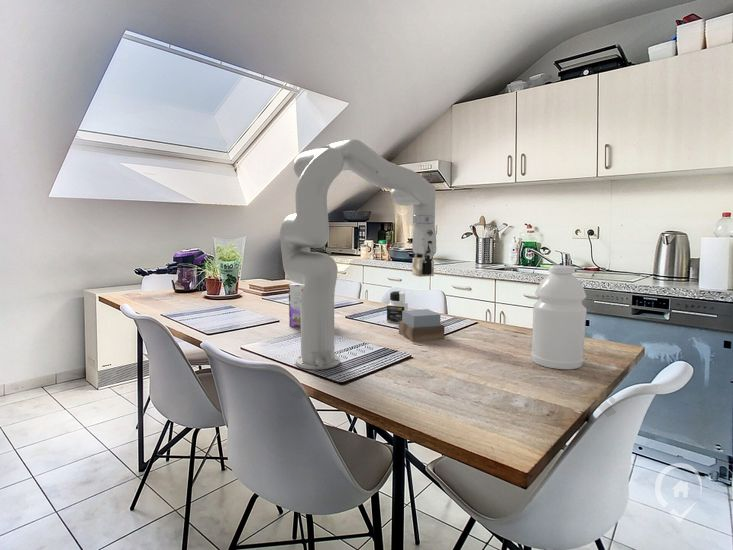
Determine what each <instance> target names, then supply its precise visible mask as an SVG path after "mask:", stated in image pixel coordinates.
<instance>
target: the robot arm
mask: <svg viewBox="0 0 733 550" xmlns="http://www.w3.org/2000/svg"><path fill="white" fill-rule="evenodd" d="M293 171H294V174H295V175H296V177H297V178H298V181H297V185H296V187H295V194H294V195H295V197H294V198H295V200H294V201H295V213H293V214H289V215H288V216H286V217H285V218H284V220H283V221H282V223H281V226H280V230H279V241H280V249H281V250H280V251H281V258H282V259H281V260H282V265H283V266H282V268H283V271H284V273H285V276H286V277H287V278H288V279H289V281H291V282H292V283H299V284H304V289H303V292H302V295H301V301H300V314H301V327H300V355H299V356H297V357H296V359H295V365H296V366H298V368H301V369H306V370H311V371H312V370H315V371H317V370H320V371H321V370H327V369H331V368H334V367H335V368H336V367H337V366H338V365H339V364H340V363H341V358H340V357H339V356H338V355H337V354H336V353H335V350H336V349H335V346H336V345H335V295H336V294H335V292H336V285H337V279H338V275H339V274H338V273H339V271H338V270H339V269H338V265H337V262H336V261H335V259H334V257H332V256H331V255H328V254H327V253H324V252H316V251H311V249H313V248H315V249H317V248H321V247H324V246H325V245H327V243H328V241H329V238H330V223H329V213H328V192H329V189H330V186H331V185H332V183H333V182H334V181H335V180H336V178H337V177H338V176H339V175H340V174H341V172H342V171H351V172H352V173H355V175H356V176H359V177H361V179H363V180H365V181H366V182H367V183H369V184H370V185H371V186H374V187H378V188H381V189H387V190H388V189H389V190H391V193H390V195H391V199H392V202H394V203H395V204H396V205H399V206H404V207H405V206H412V225H413V230H412V231H413V232H412V233H413V234H412V245H411V246H412V248H411V249H412V253H413V256H414V257H413V258H421V257H423V261H424V263H422V274H423V275H430V274H431V269H432V259H434V256H435V254H436V253H437V234H436V232H437V231H436V226H435V225H436V224H435V223H436V186H435V185H434V184H431V183H430V182H429V181H428V180H427V179H426V178H424V177H423V176H422V175H421V174H419V173H418V172H416V171H415V170H412V169H410V168H407V167H404V166H401V165H398V164H396V163H394V162H391V161H388V160H387V159H386V158H384V157H383V156H381V155H380V154H379V153H377V152H376V151H375V150H373V149H372V148H371V147H369V146H368V145H367V144H366V143H364V142H363V141H361V140H359V139H355V138H354V139H353V138H351V139H346V140H341V141H336V142H333V143H330V144H326V145H324V146H320V147H317V148H314V149H310V150H307V151H304V152H301V153H300V154H298V155H297V156H296V158H295V159H294V162H293Z"/></svg>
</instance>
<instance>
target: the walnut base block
mask: <svg viewBox="0 0 733 550" xmlns="http://www.w3.org/2000/svg"><path fill="white" fill-rule="evenodd" d="M445 327H446V326H445V325H443V324H441V323H440V326H433V327H420V328H413V327H411V326H409V325H407V324H405V323H404V322H402V321H399V323H398V334H399V335H400V336H403V337H404V338H405V339H407V340H408V341H410V342H411V343H415V342H416V343H417V342H427V341H428V342H429V341H438V340H439V341H440V340H445Z"/></svg>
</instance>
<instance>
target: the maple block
mask: <svg viewBox="0 0 733 550" xmlns="http://www.w3.org/2000/svg"><path fill="white" fill-rule="evenodd" d="M422 263H424V261H423V257H421V258H415V257H412V268H411V269H412V273H411V275H412V276H415V277H419V278H420V277H422V278H423V277H434V275H435V274H434V272H435V270H434V269H435V258H433V259H432V269H431V274H430V275H423V274H422Z"/></svg>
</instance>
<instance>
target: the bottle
mask: <svg viewBox="0 0 733 550" xmlns="http://www.w3.org/2000/svg"><path fill="white" fill-rule="evenodd" d="M548 272H549V274H548V275H546V276H545V277H544V278H543V279H542V281H540V283H539V284H538V286H537V289H536V291H535V292H534V293H535V296H537V298H538V300H537V302H535V303H534V304H533V307H532V308H533V309H532V311H533V312H532V314H533V315H532V331H531V332H532V333H531V336H532V337H531V351H530V358H531V362H533V363H535V364H537V365H538V366H542V367H545V368H550V369H556V370H575V369H579V368H581V367H582V366H583V363H584V360H585V359H584V349H585V348H584V347H585V339H586V338H585V335H586V324H587V323H586V322H587V312H588V309H587V308H586V307H585V306H584V305H583V301H584V300H585V299H586V298H587V294H586V290H585V288H584V286H583V285H582V283H581V282H580V280H578V278H577V277H576V276H575V275H574V274H575V272H576V269H575V267H574V266H572V265H558V264H555V265H554V264H553V265H550V266H548Z"/></svg>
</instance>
